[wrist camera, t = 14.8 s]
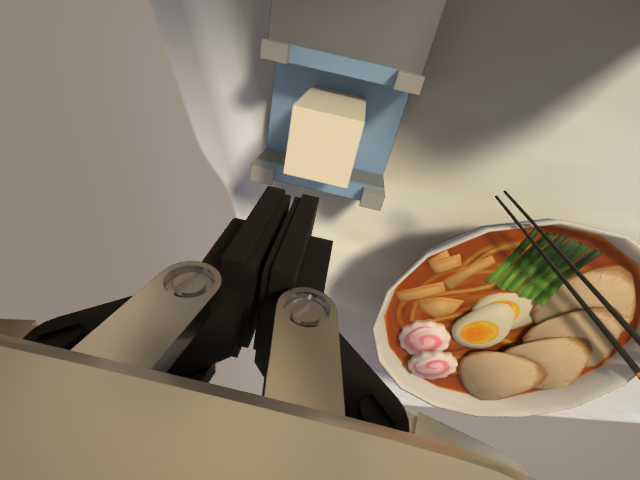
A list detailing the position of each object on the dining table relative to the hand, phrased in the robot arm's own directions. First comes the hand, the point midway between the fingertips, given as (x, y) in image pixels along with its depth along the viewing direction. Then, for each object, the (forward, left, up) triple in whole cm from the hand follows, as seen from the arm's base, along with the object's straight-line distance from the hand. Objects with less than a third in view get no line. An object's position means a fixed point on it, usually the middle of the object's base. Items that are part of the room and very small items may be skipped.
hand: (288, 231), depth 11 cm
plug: (0, 0, -17) cm, 17 cm away
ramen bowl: (+13, +18, -19) cm, 29 cm away
